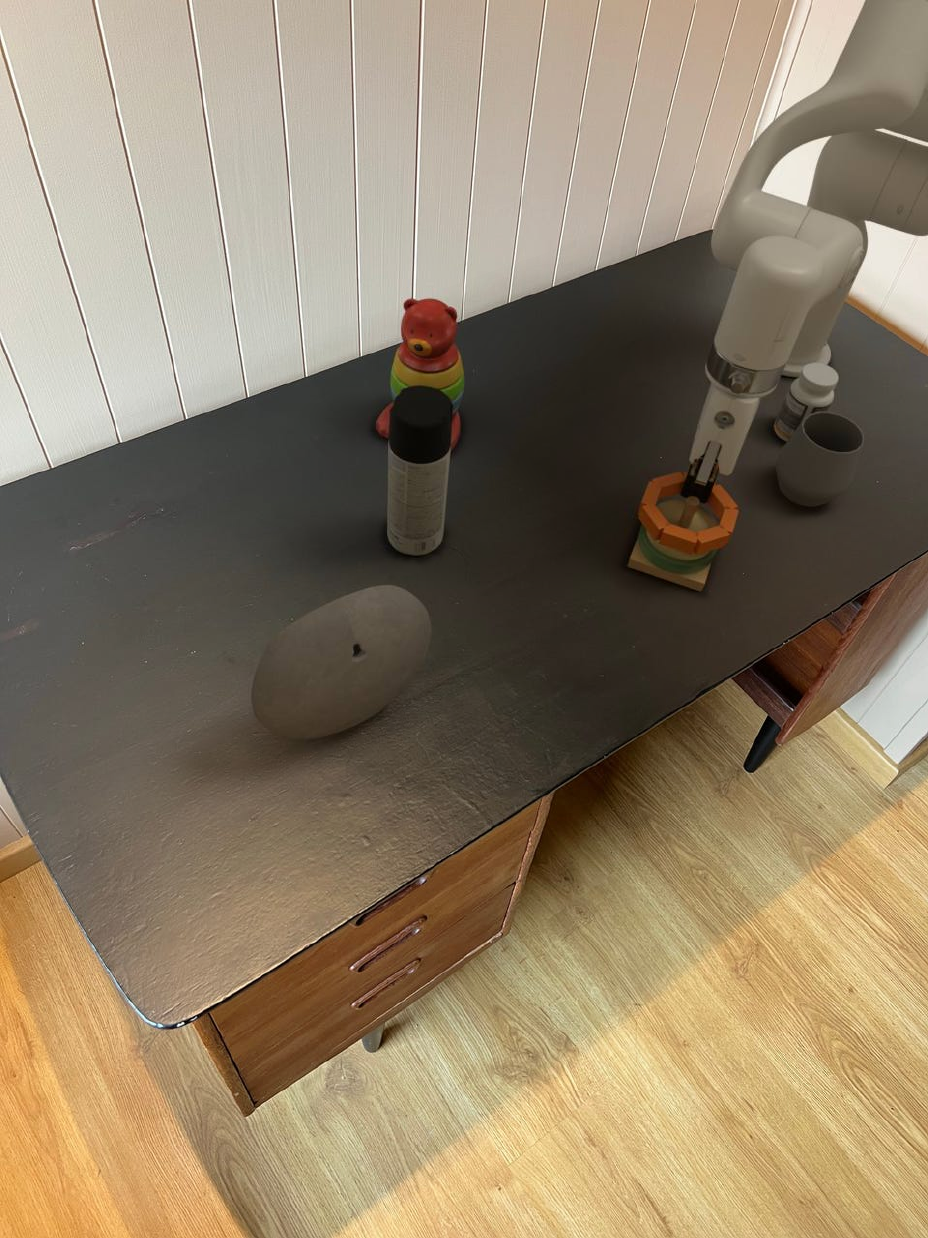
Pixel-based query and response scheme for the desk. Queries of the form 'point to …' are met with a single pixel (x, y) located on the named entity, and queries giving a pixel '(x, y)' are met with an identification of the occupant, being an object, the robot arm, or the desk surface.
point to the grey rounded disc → (341, 663)
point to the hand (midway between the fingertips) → (695, 491)
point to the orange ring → (680, 536)
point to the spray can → (418, 468)
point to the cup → (819, 459)
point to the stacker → (671, 561)
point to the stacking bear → (427, 357)
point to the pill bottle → (806, 397)
